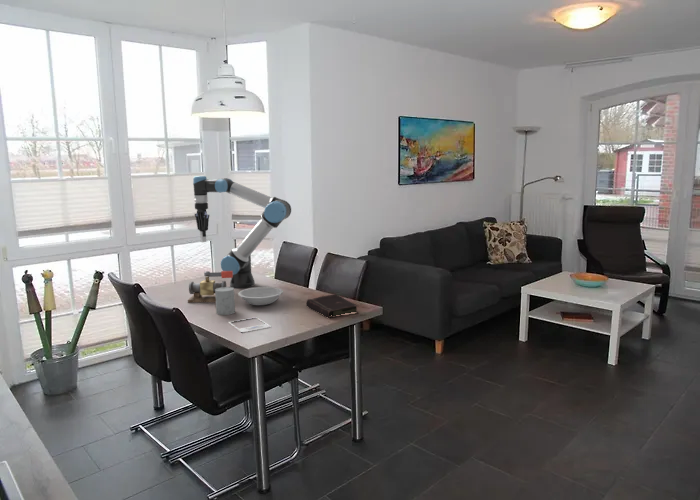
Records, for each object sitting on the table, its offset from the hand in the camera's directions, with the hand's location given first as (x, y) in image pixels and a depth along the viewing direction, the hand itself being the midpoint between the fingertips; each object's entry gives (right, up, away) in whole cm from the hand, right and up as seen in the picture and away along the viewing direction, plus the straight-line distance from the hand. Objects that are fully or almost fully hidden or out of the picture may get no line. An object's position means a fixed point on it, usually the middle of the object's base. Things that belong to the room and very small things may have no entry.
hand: (203, 241), depth 308 cm
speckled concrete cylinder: (+23, -37, -42) cm, 61 cm away
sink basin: (+39, -34, -27) cm, 58 cm away
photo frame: (+40, -41, -63) cm, 85 cm away
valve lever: (+14, -20, -19) cm, 31 cm away
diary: (+79, -37, -40) cm, 95 cm away
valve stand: (+8, -33, -17) cm, 38 cm away
